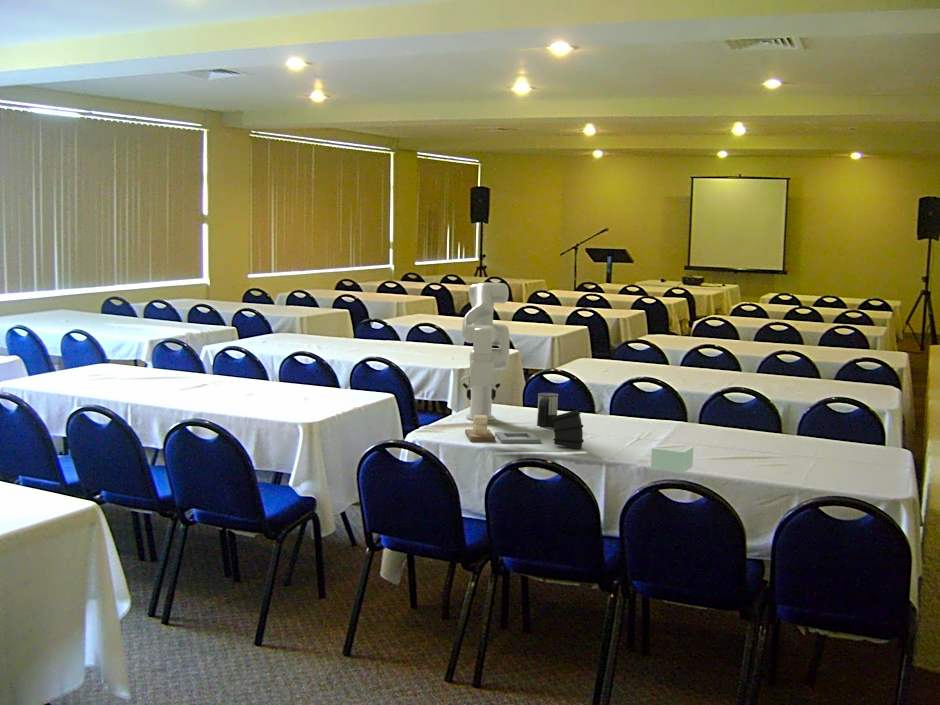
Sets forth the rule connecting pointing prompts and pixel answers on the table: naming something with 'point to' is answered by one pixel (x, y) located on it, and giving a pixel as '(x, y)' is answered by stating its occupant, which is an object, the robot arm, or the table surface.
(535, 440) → the pocket plate
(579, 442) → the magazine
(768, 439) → the table surface
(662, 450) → the right angle wall
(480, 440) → the walnut board
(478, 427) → the maple block
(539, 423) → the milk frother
